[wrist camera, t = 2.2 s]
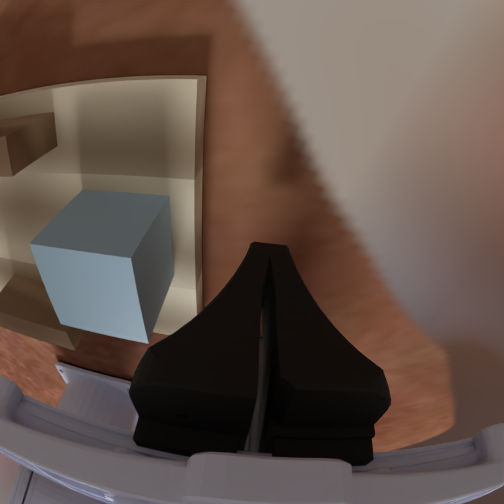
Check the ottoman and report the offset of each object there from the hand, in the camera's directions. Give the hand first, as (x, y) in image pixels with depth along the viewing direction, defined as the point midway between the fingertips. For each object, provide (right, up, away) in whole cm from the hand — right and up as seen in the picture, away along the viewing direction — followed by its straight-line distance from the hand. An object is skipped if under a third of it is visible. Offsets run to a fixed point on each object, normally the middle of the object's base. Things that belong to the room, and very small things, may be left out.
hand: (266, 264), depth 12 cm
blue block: (-6, +1, +1) cm, 6 cm away
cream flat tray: (-15, +3, +2) cm, 15 cm away
